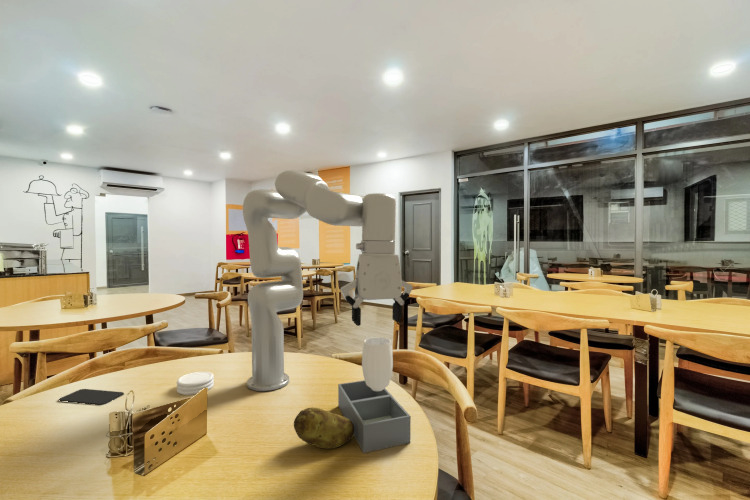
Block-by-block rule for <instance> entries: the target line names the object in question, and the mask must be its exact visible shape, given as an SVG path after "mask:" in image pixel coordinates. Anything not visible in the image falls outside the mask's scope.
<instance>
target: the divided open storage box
mask: <svg viewBox="0 0 750 500" xmlns="http://www.w3.org/2000/svg"><path fill="white" fill-rule="evenodd" d="M337 388H338V390H337V392H338V393H337V396H338V399H337V400H338V409H339V410H340V411H341V413H342V415H343V417H345V418H348V419H349V420H351V422H352V423H353V425H354V434H353V437H354V438H355V440H356V442H357V444H358V446H359V447H360V449H361V450H362V453H364V454H366V453H370V452H374V451H379V450H383V449H388V448H392V447H393V448H394V447H396V446H400V445H405V444H406V445H407V444H410V443H411V419H412V418H411V415H410V413H408V412H407V411H406V410H405V408H404V407H403V406H402V405H401V404H400V403H399V402H398V401H397V400H396V398H395V397H394V396H393V395H392V394H391V393H390V392H389V391H388V389H386V387H385V388H384V389H383V390H382V391H373V390H372V389H371V388H370V387H368V386H367V385H366V382H365V379H363V380H357V381H352V382H351V381H350V382H344V383H338V387H337Z"/></svg>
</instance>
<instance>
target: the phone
mask: <svg viewBox="0 0 750 500" xmlns="http://www.w3.org/2000/svg"><path fill="white" fill-rule="evenodd" d="M124 395H125V393H124V392H123V391H114V390H102V389H93V388H92V389H89V388H82V389H78V390H75V391H74V392H71V393H69V394H66V395H64V396H62V397H60V398H58V401H59V400H60V401H68V402H77V403H76V404H79V403H85V404H84V405H91V404H95V405H94V406H104V405H107V404H109V403H111V402H113V401H115V400H116V399H118V398H120V397H122V396H124ZM112 400H113V401H112Z"/></svg>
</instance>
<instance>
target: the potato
mask: <svg viewBox="0 0 750 500" xmlns="http://www.w3.org/2000/svg"><path fill="white" fill-rule="evenodd" d="M293 429H294V431H295V433H296V435H297V437H298V438H299V439H300V440H302V441H303V442H305V443H306V444H310V445H314V446H315V447H318V448H321V449H326V450H328V449H335V448H338V447H341V446H343V445H345V444H346V443H348V442H349V441H350V440H351V439H352V438H353V437H354V425H353V423H352V422H351V420H349V419H348V418H345V417H344V415H343V416H342V415H340V414H336V413H334V412H330V411H328V410H324V409H323V408H320V407H307V408H304V409H302V410H300V411H299V413H298V414H297V415H296V416H295V418H294V421H293Z"/></svg>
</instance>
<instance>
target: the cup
mask: <svg viewBox="0 0 750 500" xmlns="http://www.w3.org/2000/svg"><path fill="white" fill-rule="evenodd" d="M362 346H363V347H362V353H361V354H362V356H361V369H362V373H363V380H365V382H366V385H367V386H368V387H370V388H371V389H372V390H373V391H382V390H383V389H384V388H385V389H386V388H388V386H390V382H391V380H392V375H393V368H394V360H393V359H394V358H393V357H394V356H393V355H394V354H393V347H392V341H391V339H390V338H387V337H381V336H374V337H368V338H366V339H364V342H363V345H362Z"/></svg>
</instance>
